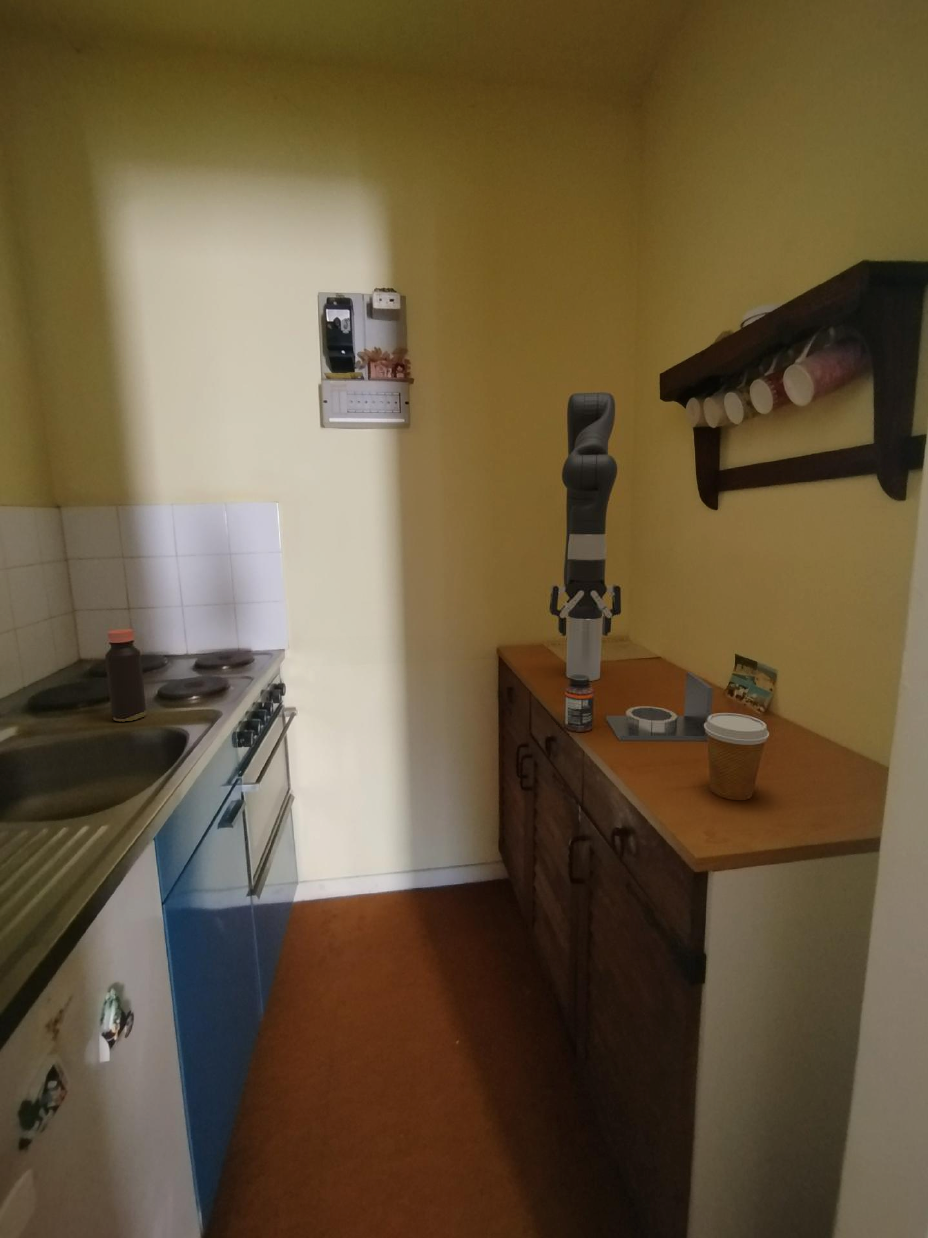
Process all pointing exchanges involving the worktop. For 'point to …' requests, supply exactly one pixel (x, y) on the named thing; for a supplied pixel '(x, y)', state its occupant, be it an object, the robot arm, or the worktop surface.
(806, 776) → the worktop surface
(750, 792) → the disposable coffee cup
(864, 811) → the worktop surface
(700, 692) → the cup bracket
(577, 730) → the supplement bottle
